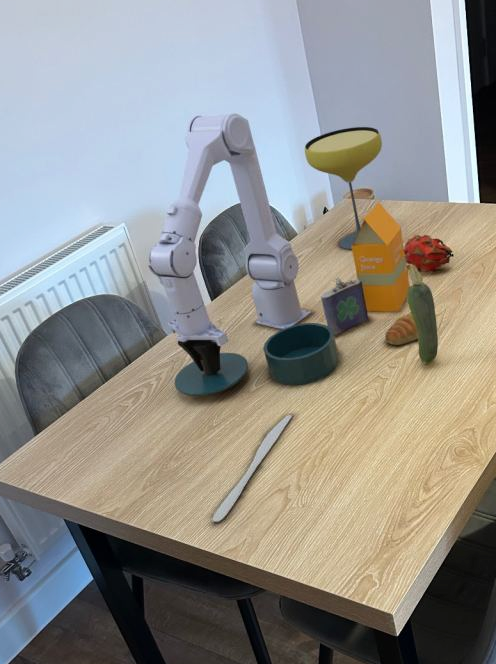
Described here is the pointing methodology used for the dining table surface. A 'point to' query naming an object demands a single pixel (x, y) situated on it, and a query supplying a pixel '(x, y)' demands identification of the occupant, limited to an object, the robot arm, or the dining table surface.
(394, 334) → the pastry
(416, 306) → the vegetable
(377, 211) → the orange juice
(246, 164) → the robot arm
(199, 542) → the dining table surface
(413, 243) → the dragon fruit
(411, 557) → the dining table surface
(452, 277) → the dining table surface
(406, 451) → the dining table surface
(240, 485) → the butter knife
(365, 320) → the flask
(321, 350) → the pan
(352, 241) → the cocktail glass
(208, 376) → the lid
